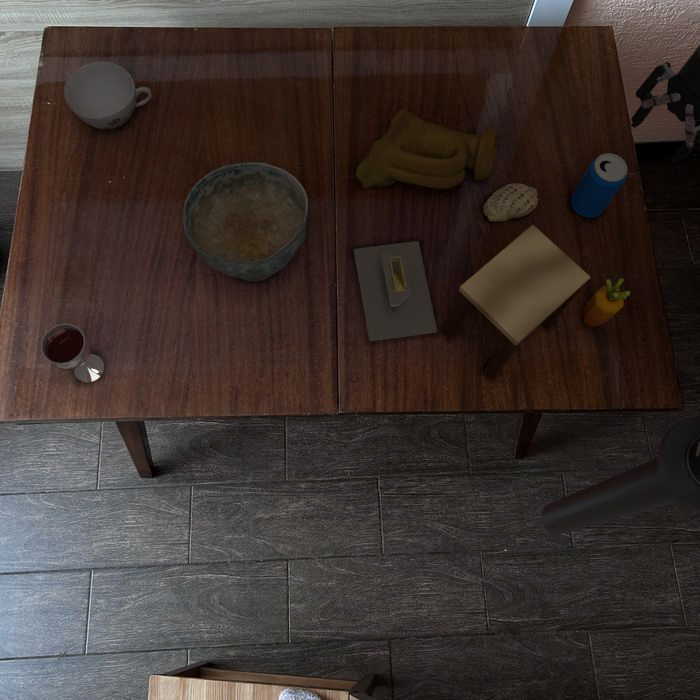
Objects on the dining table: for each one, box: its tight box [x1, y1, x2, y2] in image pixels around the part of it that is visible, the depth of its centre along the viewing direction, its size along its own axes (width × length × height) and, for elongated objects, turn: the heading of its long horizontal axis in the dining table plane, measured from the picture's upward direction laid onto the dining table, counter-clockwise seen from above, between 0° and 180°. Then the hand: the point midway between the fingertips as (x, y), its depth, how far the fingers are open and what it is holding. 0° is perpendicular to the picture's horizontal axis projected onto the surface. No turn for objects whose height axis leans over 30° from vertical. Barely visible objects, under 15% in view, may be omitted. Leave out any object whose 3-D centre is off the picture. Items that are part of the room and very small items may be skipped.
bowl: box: [182, 161, 309, 282], centre depth 118 cm, size 20×19×15 cm
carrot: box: [583, 277, 631, 327], centre depth 115 cm, size 5×5×15 cm
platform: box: [353, 240, 438, 342], centre depth 120 cm, size 12×18×7 cm, turn 9°
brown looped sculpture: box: [355, 108, 500, 190], centre depth 126 cm, size 18×13×22 cm
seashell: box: [482, 182, 539, 223], centre depth 127 cm, size 8×6×10 cm
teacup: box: [63, 60, 153, 130], centre depth 130 cm, size 15×12×8 cm
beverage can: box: [570, 152, 628, 218], centre depth 124 cm, size 6×6×12 cm
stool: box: [441, 224, 591, 380], centre depth 113 cm, size 12×16×18 cm
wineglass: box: [40, 322, 105, 383], centre depth 111 cm, size 7×7×12 cm
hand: (654, 142), depth 113 cm, fingers open, 8 cm apart
